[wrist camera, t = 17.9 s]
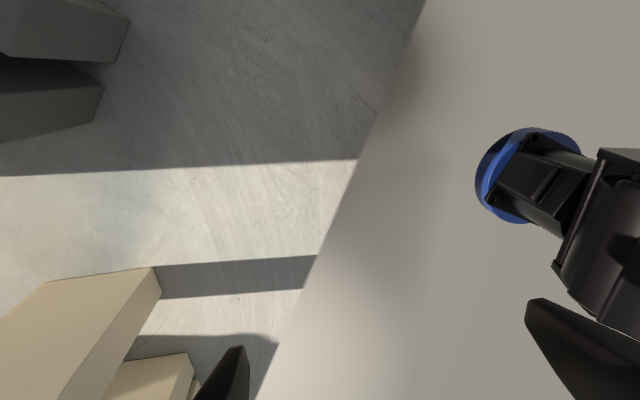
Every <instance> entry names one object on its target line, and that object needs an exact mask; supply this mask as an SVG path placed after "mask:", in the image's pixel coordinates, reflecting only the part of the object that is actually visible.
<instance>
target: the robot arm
mask: <svg viewBox="0 0 640 400" xmlns="http://www.w3.org/2000/svg"><path fill="white" fill-rule="evenodd" d="M533 136H534V138H533V140H531V139H532V137H533ZM597 157H598V158H597V160H594V159H590V158H587V157H586V156H584V155H582V154H580V153H578V152H576V151H574V150H572V149H570V148H568V147H566V146H564V145H562V144H560V143H558V142H556V141H555V140H553V139H551V138H549V137H547V136H545V135H543V134H541V133H539V132H535V131H530V132H529V133H527V134H526V136H525V137H524V139H523V140H522V142H521V143H520V145H519V146H518V148H517V149H516V151H515V152H514V154H513V155H512V157H511V158H510V160H509V161H508V163H507V164H506V166H505V167H504V169H503V170H502V172H501V173H500V175H499V176H498V178H497V179H496V181H495V182H494V184H493V185H492V187H491V188H490V190H489V191H488V193H487V194H486V196H485V198H484V201H485V203H487V204H488V205H490V206H492V207H495V208H497V209H500V210H502V211H504V212H507V213H509V214H511V215H514V216H516V217H519V218H521V219H523V220H526V221H528V222H530V223H533V224H535V225H538V226H541V227H543V228H544V229H546V230H547V231H549V232H550V233H552V234H554V235H555V236H557V237H558V238H560V239H562V240H563V243H562V245H561V247H560V250H559V252H558V255H557V257H556V259H554V260H553V262H552V265H551V268H552V269H553V270H554V272H555V273H556V274H557V276H558V277H559V278H560V280H561V281H562V282H563V284H564V285H565V286H566V287H567V289H568V290H567V293H568V294H569V295H570V297H571V298H573V299H574V300H575V301H576V302H578V303H579V305H580V306H581V307H582V308H583V309H584V310H585V311H587V313H588V314H589V315H591V316H593V317H595V318H596V320H597V322H599V323H601V324H603V325H601V324H599V323H597V322H595V321H593V320H590V319H588V318H586V317H584V316H582V315H580V314H577V313H575V312H573V311H571V310H568V309H567V308H564V307H562V306H560V305H558V304H556V303H553V302H551V301H549V300H547V299H544V298H537V299H531V300H529V301H528V303H527V308H526V312H525V318H524V321H525V324H526V327H527V328H528V330H529V332H530V333H531V335H532V336H533V338H534V340H535V341H536V343H537V345H538V346H539V348H540V349H541V351H542V353H543V354H544V356H545V357H546V359H547V360H548V362H549V364H550V365H551V367H552V368H553V370H554V371H555V373H556V374H557V376H558V377H559V378H560V380H561V381H562V383H563V384H564V385H565V386H566V388H567V389H568V391H569V392H570V393H571V395H572V396H573V397H574V399H575V400H640V342H638V341H640V149H632V148H631V149H630V148H600V149H599V151H598V153H597ZM492 197H493V199H492V200H491V201H490V199H491V198H492ZM604 325H606V326H608V327H611V328H613V329H615V330H618V331H620V332H622V333H625V334H626V335H628V336H631V337H632V338H634V339H636V340H638V341H636V340H634V339H632V338H630V337H628V336H625V335H623V334H621V333H619V332H617V331H614V330H612V329H610V328H608V327H606V326H604ZM249 380H250V365H249V361H248V357H247V354H246V351H245V348H244V346H243V345H238V346H232V347H230V348H229V349H228V350H227V351H226V353H225V354H224V355H223V357H222V358H221V360H220V361H219V363H218V364H217V365H216V367H215V368H214V370H213V371H212V373H211V374H210V375H209V377H208V378H207V380H206V381H205V382H204V384H203V385H202V387H201V388H200V390H199V391H198V392H197V394H196V395H195V397H194V398H193V400H249Z"/></svg>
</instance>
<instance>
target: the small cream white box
mask: <svg viewBox="0 0 640 400" xmlns="http://www.w3.org/2000/svg"><path fill="white" fill-rule="evenodd" d="M161 295H162V290H161V288H160V286H159V283H158V281H157V278H156V276H155V273H154V271H153V268H152V267H148V268H141V269H134V270H128V271H121V272H114V273H107V274H100V275H93V276H86V277H79V278H72V279H65V280H58V281H52V282H45V283H42V284H41V285H40V286H39V287H38V288H37V289H35V290H34V291H33V292H32V293H31V294H29V295H28V296H27V297H26V298H25V299H24V300H22V301H21V302H20V303H19V304H18V305H16V306H15V307H14V308H13V309H12V310H11V311H9V312H8V313H7V314H6V315H5V316H3V317H2V318H1V319H0V400H100V399H101V397H102V395H103V393H104V392H105V390H106V388H107V387H108V385H109V383H110V381H111V380H112V378H113V376H114V375H115V373H116V371H117V370H118V368H119V366H120V364H121V363H122V361H123V359H124V358H125V356H126V354H127V353H128V351H129V349H130V347H131V346H132V344H133V342H134V341H135V339H136V337H137V335H138V334H139V332H140V330H141V329H142V327H143V325H144V324H145V322H146V320H147V318H148V317H149V315H150V313H151V312H152V310H153V308H154V306H155V305H156V303H157V301H158V300H159V298H160V296H161Z"/></svg>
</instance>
